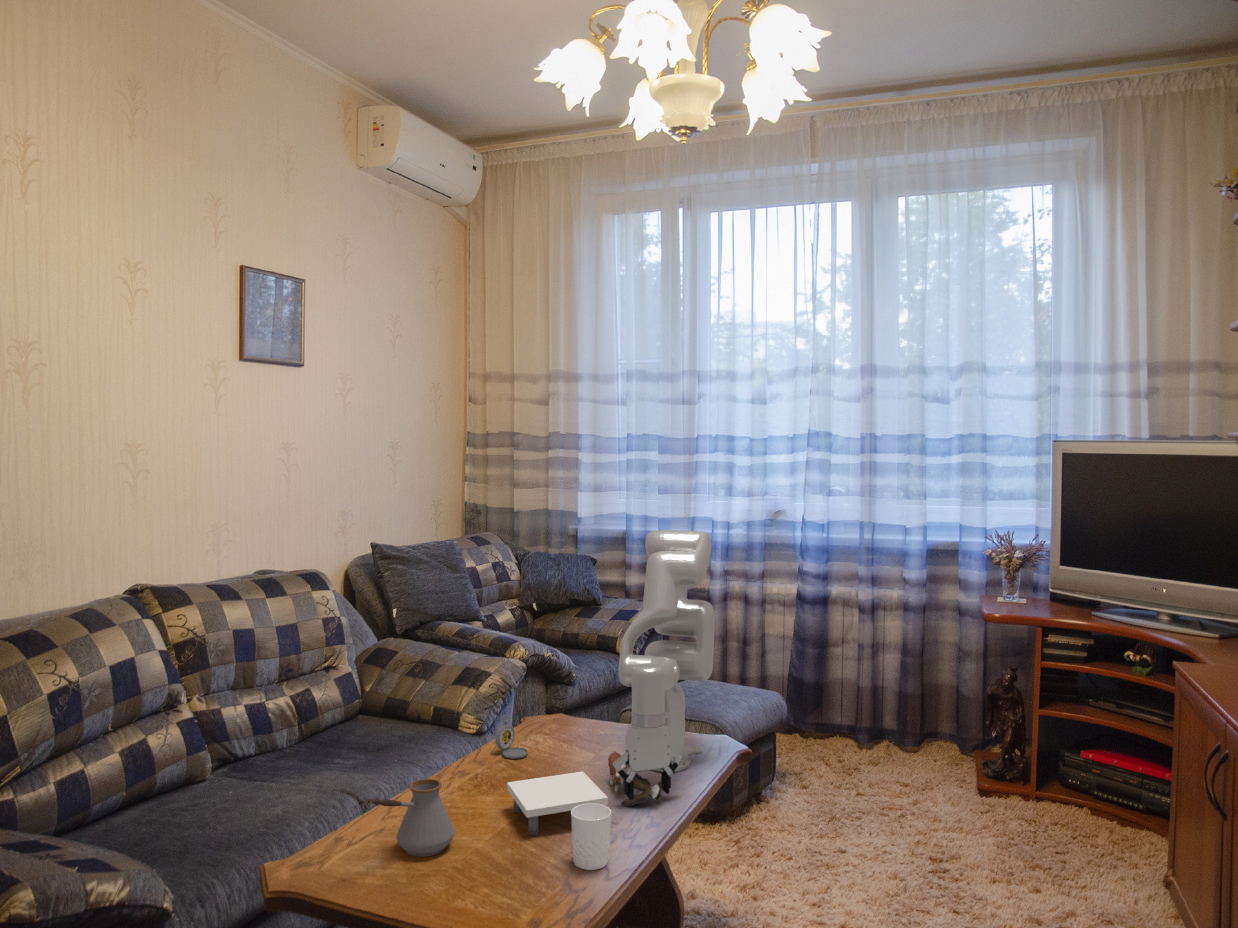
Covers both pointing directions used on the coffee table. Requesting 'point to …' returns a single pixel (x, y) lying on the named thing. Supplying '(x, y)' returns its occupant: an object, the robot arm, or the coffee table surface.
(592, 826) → the white cup
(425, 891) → the coffee table surface
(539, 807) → the display shelf
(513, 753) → the pocket watch
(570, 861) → the coffee table surface
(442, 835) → the coffee pot
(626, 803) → the eagle figurine
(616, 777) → the bull figurine
